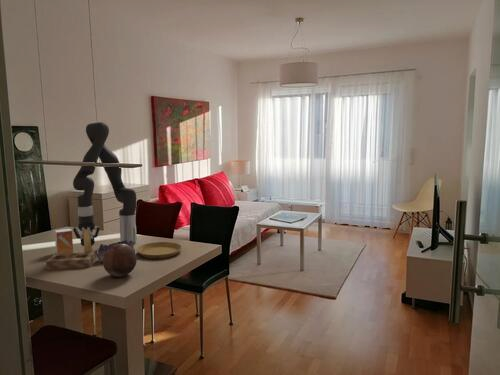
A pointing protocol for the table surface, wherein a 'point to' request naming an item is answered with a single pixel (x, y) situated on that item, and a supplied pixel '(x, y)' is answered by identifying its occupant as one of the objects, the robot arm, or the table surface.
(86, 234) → the peg
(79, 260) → the hole block
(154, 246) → the plant saucer
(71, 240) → the small box
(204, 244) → the table surface
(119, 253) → the wooden sphere
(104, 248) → the geode
